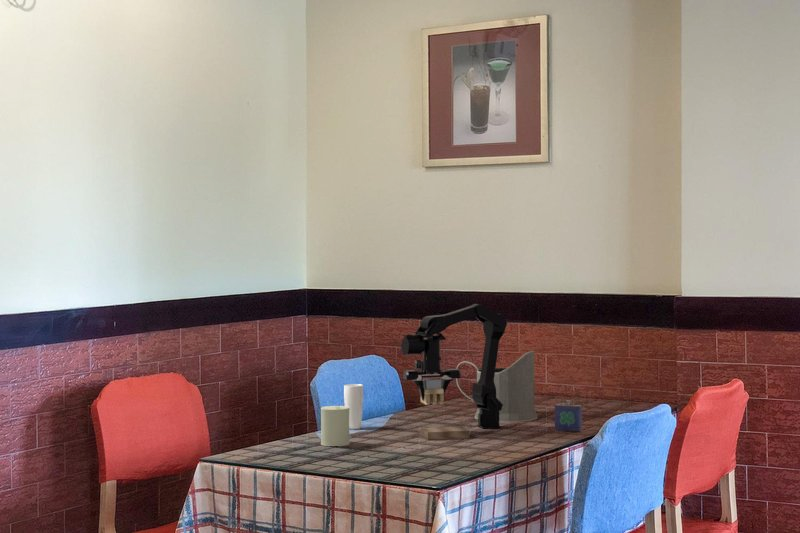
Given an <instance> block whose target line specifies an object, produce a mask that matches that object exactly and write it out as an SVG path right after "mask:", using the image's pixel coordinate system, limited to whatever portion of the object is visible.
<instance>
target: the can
mask: <svg viewBox="0 0 800 533" xmlns="http://www.w3.org/2000/svg"><path fill="white" fill-rule="evenodd" d="M349 409H350V408H349V407H347V406H345V405H326V406H325V405H324V406H321V408H320V423H321V424H320V425H321V430H320V433H321V435H320V438H321V440H320V445H321V446H323V447H330V446H338V447H346V446H349V445H351V442H350V429H349Z"/></svg>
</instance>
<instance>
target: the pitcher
mask: <svg viewBox="0 0 800 533" xmlns="http://www.w3.org/2000/svg"><path fill="white" fill-rule="evenodd" d="M463 363H464V364H465V363H466V364H469V365H472V366H473V367H474V368H475V370H476V383H478V381H479V379H480V375H481V368H480V369H479V367H478V366H477V365H476V364H475V363H473V362H472V361H467V360H466V361H465V360H464V361H461V362H459V363H458V364H457V366H456V369H457V370H459V368H460V366H461V365H462V364H463ZM455 381H456V385H457V388H458V389H459V390H460V392H461V393H462V394H463V396H465V397H466V398H468V399H470V400H471V401H473V402H474V400H473V398H472V397H471V396H469V394H467V393H466V392H465V391H464V389H462V388H461V385H460V382H459V378H455ZM494 384H495V387H496V398H497V399H498V400H499V401H500V402H501V403H502V404H503V406H502V410H500V411H499V423H517V422H519V423H520V422H521V421H522V422H530V421H535V420H537V419H538V415H537V412H536V409H535V351H534V350H530V351H528V352H526V353H524V354H523V355H522V356H520V357H519V358H518V359H517V360H515V362H513V363H512V364H511V365H510V366H508V367H496V368H495V375H494ZM479 409H480V408H476V412H475V414H474V419H476V420H478V414H479ZM534 419H535V420H534ZM522 422H521V423H522Z"/></svg>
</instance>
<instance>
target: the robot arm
mask: <svg viewBox="0 0 800 533" xmlns="http://www.w3.org/2000/svg"><path fill="white" fill-rule="evenodd" d="M474 318H476V319H477V320H478V322H481V323H482V324H483V325H482V327H483V329H482V331H483V333H484V337H485V341H484V348H483V354H482V362H481V368H480V369H481V375H480V379H479V381H478V383H477V382H476V383H475V382H473V384H472V391H471V396H472V397H471V398H473V400H474V401H473V400H472V401H473V402H474V403H475V405H476V407H477V408H480V409H479V414H478V419H477V426H478V427H479V428H482V429H501V428H502V426H501V425H500V422H499V411H500V410H502V406H503V404H502V403H501V402H500V401H499V400H498V399H497V398H496V387H495V384H494V375H495V368H497V359H498V353H499V345H500V341H501V339H502V338H503V336H504V334H505V332H506V328H507V324H508V320H507V318H506V316H505V315H504V314H502V313H497V312H496V311H494V310H491V309H490V308H488V307H486V306H484V305H482V304H480V303H479V304H477V303H473V304H471V305H469V306H466V307H463V308H460V309H457V310H453V311H450V312H448V313H444V314H434V315H427V316H424V317H422V319H421V321H420V325H419V327H418V328H417V330H416V331H415V332H414V334H407V333H406V334H403V338H402V340H401V344H400V350H401V352H402V354H403V355H404V356H409V355H410V356H411V355H421V354H422V359H415V360H414V369H405V370H404V371H403V374H402V375H403V376H402V377H403V379H404V380H406V381H411V382H413V383H414V384H416V387H417V389H418V392H419V395H420V399H421V398H422V400H424V384H423V378H439V379H440V380H441V388H442V389H444V395H445V394H446V391H447V389H448V386H449V385H450V383H451V382H453V379H454V380H456V378H458V379H461V375H462V374H461V371H460V370H459V369H458V370H457V368H445V371H444V370H443V371H442V369H441V360H442V358H441V341H445V340H446V339H447V338H446V337H445V336H444V335H443V334H442V332H444V331H445V330H446V329H448V327H450V326H452V325H455V324H459V323H462V322H463V321H468V320H471V319H474ZM421 360H422V361H421ZM418 370H419V371H418ZM477 408H476V409H477Z"/></svg>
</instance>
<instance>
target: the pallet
mask: <svg viewBox="0 0 800 533" xmlns="http://www.w3.org/2000/svg"><path fill="white" fill-rule="evenodd" d="M444 400H445V394H444V389H442V388H441V389H425V388H424V400H422V398H421V397H420V403H422V404H424V405H425V406H429V405H431V404H432V405H434V406H435V405H436V406H437V405H445V404H444V403H445V402H444Z"/></svg>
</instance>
